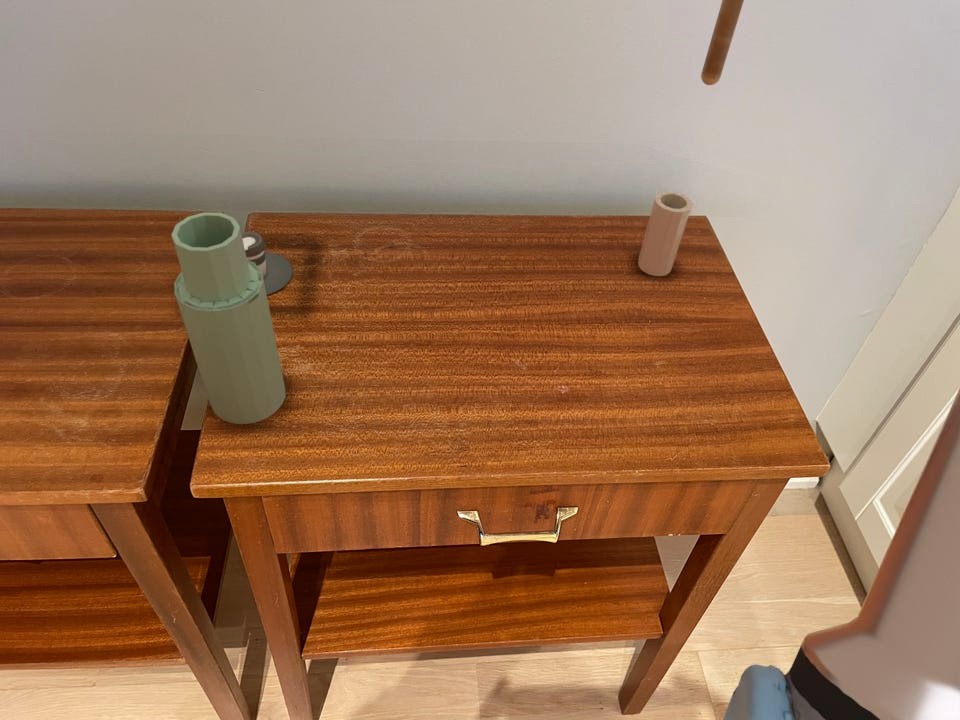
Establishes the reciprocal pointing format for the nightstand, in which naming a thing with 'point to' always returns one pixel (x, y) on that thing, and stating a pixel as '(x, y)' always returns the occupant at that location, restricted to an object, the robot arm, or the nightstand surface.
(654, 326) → the nightstand surface
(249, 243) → the coffee cup
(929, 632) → the robot arm
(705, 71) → the wooden stick
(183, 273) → the bottle
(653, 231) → the holder
